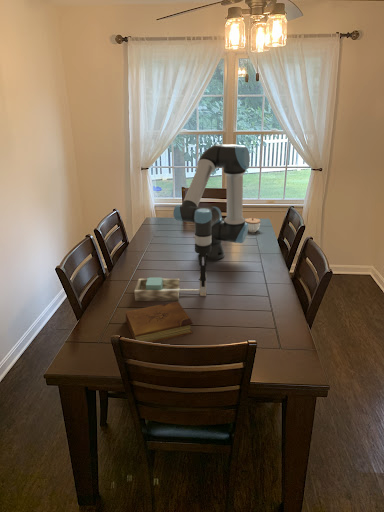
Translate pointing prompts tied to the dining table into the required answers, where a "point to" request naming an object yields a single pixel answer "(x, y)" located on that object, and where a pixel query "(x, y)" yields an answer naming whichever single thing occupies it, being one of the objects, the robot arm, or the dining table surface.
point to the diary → (158, 322)
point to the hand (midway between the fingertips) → (202, 288)
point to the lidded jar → (253, 224)
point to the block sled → (158, 285)
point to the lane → (157, 291)
